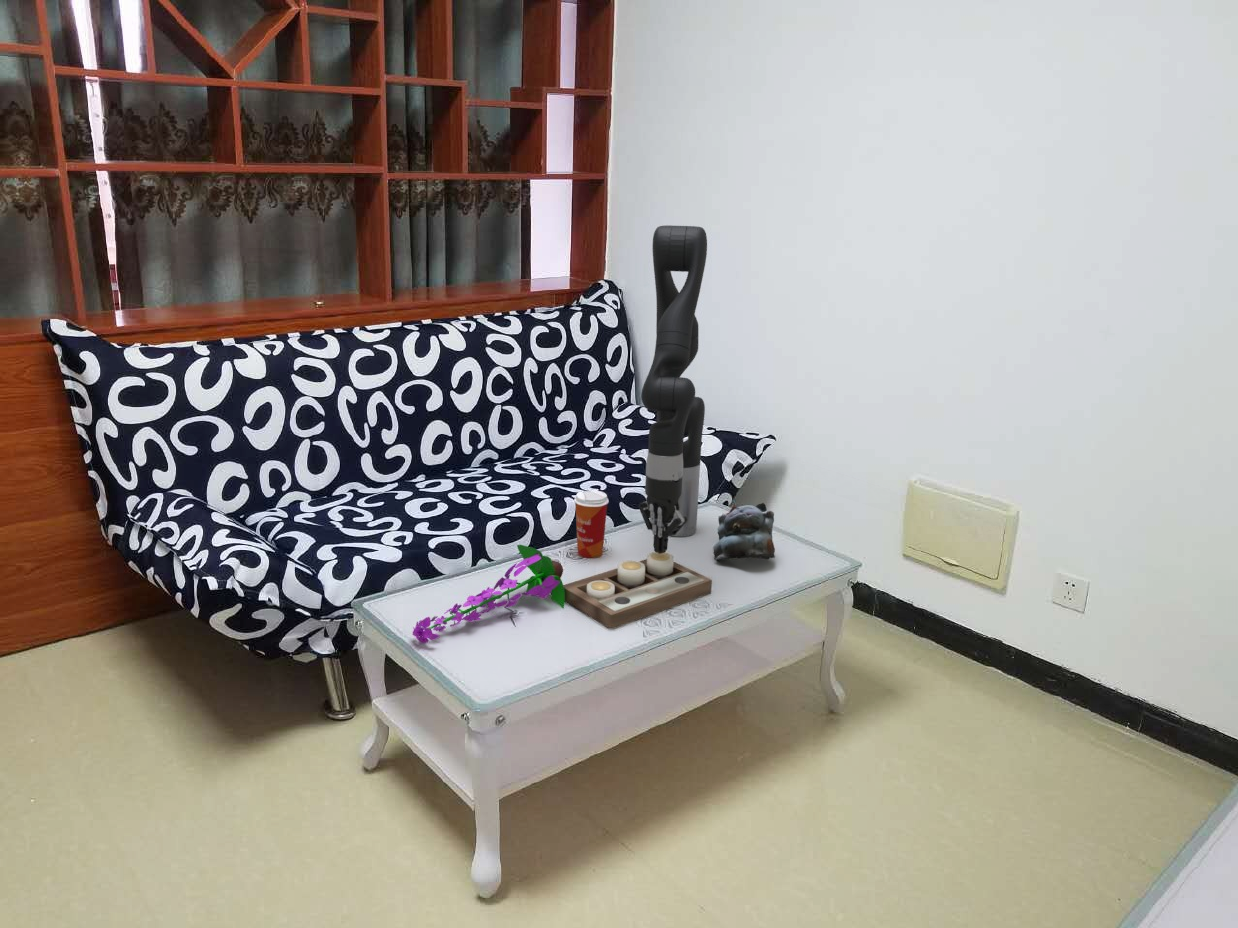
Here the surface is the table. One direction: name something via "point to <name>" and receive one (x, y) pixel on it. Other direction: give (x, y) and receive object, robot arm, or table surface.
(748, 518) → the lucky cat figurine
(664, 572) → the button
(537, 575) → the purple flower sprig
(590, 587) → the button
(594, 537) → the paper cup
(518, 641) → the table surface
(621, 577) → the button mid
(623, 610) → the wooden candle tray
